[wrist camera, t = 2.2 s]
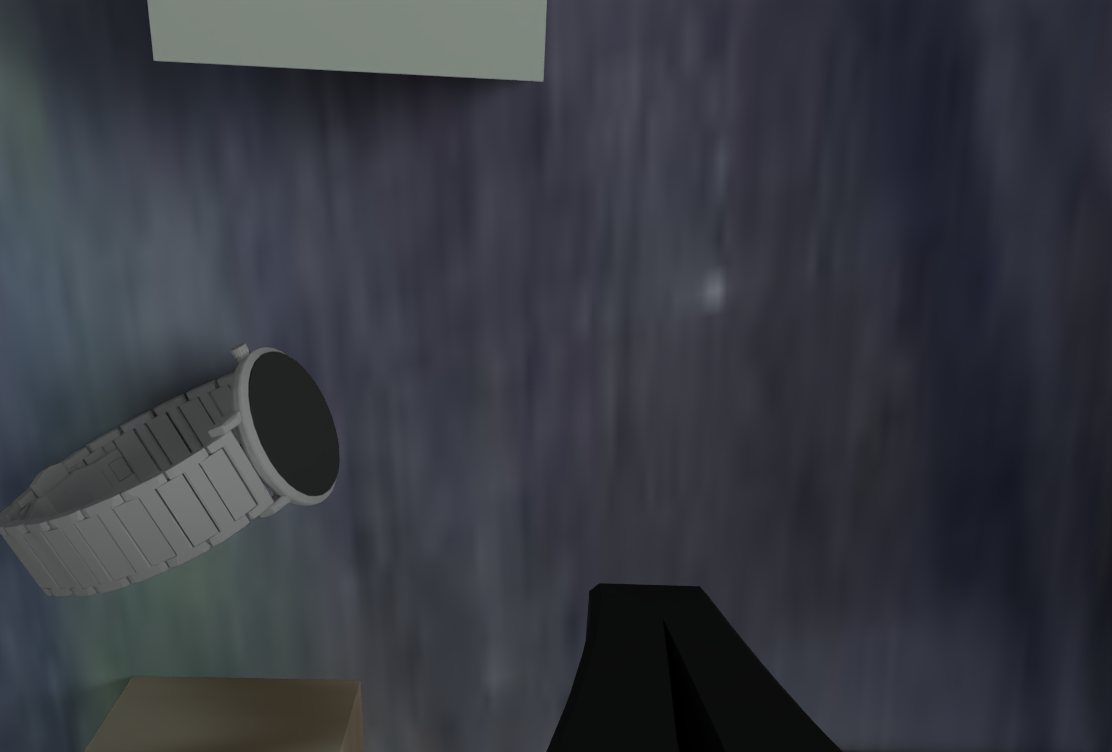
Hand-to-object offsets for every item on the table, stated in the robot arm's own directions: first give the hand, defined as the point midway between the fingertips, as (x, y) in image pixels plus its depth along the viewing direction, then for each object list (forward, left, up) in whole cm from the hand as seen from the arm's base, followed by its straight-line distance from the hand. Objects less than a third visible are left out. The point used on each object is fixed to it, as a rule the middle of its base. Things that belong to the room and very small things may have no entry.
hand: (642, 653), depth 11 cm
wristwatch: (+7, 0, -7) cm, 10 cm away
